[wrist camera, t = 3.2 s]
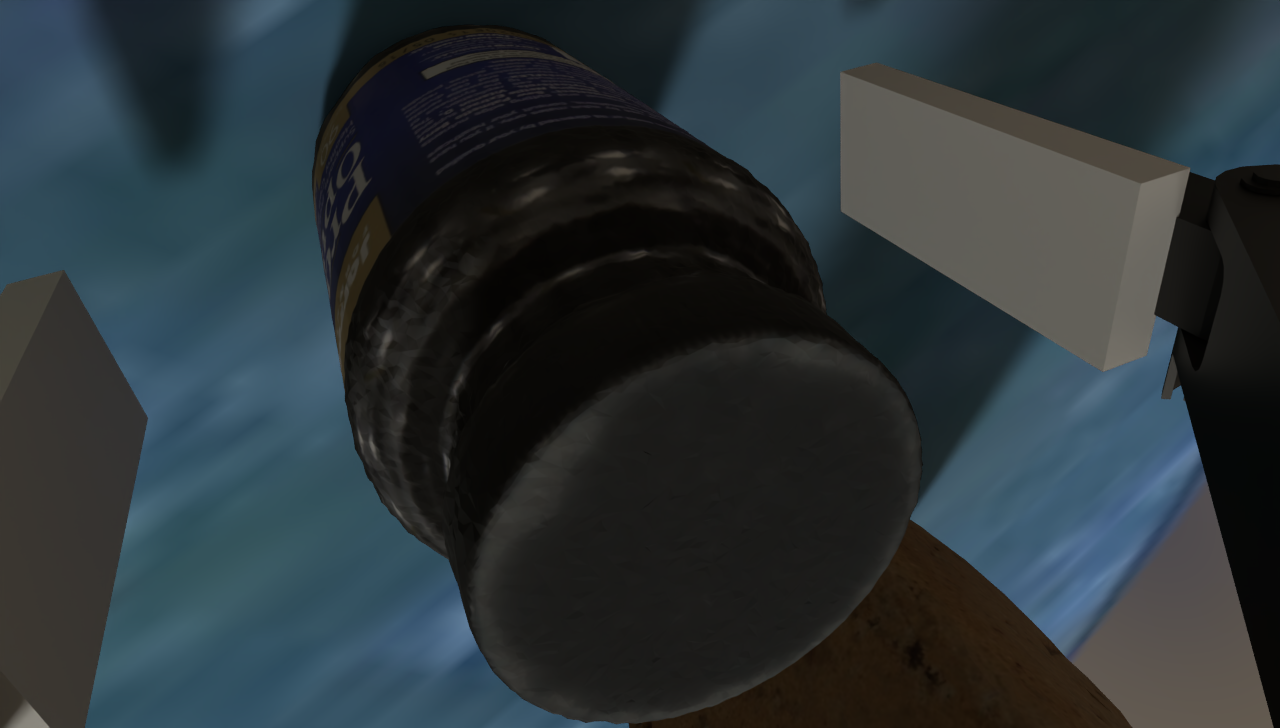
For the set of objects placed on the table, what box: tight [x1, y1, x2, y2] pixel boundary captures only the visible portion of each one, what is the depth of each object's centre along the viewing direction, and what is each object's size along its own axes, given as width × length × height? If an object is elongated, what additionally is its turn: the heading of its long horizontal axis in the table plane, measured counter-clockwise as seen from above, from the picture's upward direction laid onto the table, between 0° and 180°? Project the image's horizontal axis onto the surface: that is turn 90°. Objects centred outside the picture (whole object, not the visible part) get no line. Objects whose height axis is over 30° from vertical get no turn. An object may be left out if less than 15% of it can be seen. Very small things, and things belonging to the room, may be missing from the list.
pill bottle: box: [312, 25, 923, 724], centre depth 12 cm, size 6×6×11 cm
